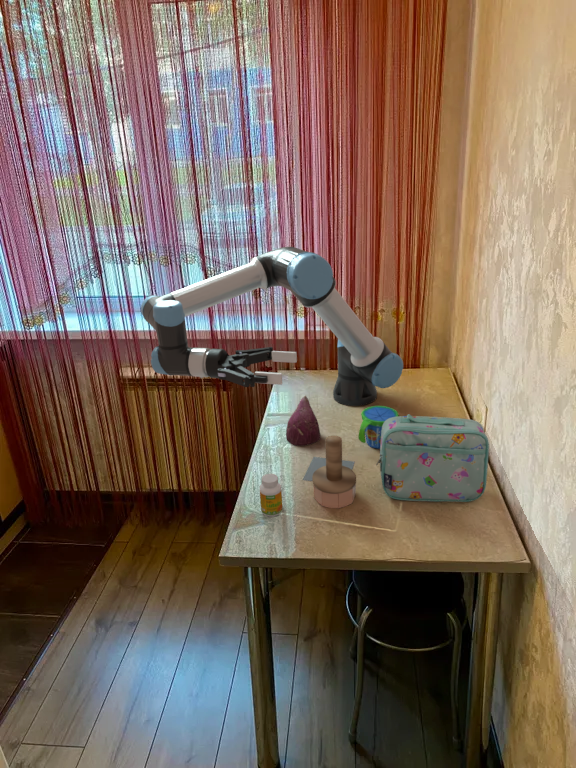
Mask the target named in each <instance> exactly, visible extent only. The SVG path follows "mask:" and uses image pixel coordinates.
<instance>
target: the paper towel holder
mask: <svg viewBox="0 0 576 768" xmlns="http://www.w3.org/2000/svg"><path fill="white" fill-rule="evenodd" d="M325 458H326V466H323V467H321V468H319V469H317V470H316V471H315V472H314V473H313V476H312V480H313V481H312V484H313V487H314V486H315V487H316V488H317V489H318V490H320V491H322V492H325V493H330V494H339V493H344V492H347V491H349V490H351V489H352V488H353V487H354V486H355V484H357V474H356V473H355V471H354V469H352V470H351V469H350V468H348V467H345V466H342V460H343V439H342V437H341V436H339V435H329V436H327V437H326V438H325Z"/></svg>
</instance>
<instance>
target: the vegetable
mask: <svg viewBox="0 0 576 768" xmlns="http://www.w3.org/2000/svg"><path fill="white" fill-rule="evenodd" d="M319 425H320V424H319V422H318V418H317V416H316V415H315V413H314V410H313V408H312V407H311V404H310V400H309V399H308V397H307V395H304V396H303V397H302V398H301V399H300V401H299V402H298V405H297V406H296V408H295V410H294V412H292V414H291V416H290V417H289V418H288V421H287V424H286V430H285V431H286V432H285V433H286V434H285V436H286V437H285V438H286V441H287V442H288V443H289V444H290V445H292V446H296V447H297V446H298V447H299V446H300V447H302V446H303V447H306V446H310V445H313V444H315V443H317V442H318V441H320V439H321V431H320V426H319Z"/></svg>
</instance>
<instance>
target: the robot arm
mask: <svg viewBox="0 0 576 768" xmlns="http://www.w3.org/2000/svg"><path fill="white" fill-rule="evenodd" d="M336 286H337V281H336V279H335V276H334V271H333V269H332V266H331V264H330V263H329V262H328V261H327V259H325V258H324V257H322V255H319V254H318V253H316V252H311V251H306V250H303V249H300V248H298V247H295V246H283V247H279V248H275V249H273V250H271V251H268V252H265V253H262V254H259V255H257V256H254V257H252V258H251V260H250V262H249V263H246V264H244V265H241V266H238V267H235V268H232V269H230V270H227V271H226V272H225V271H224V272H223V273H220V274H217V275H215V276H212V277H209V278H207V279H203V280H202V281H201V280H200V281H199V282H195V283H193V284H191V285H188V286H186V287H184V288H183V287H182V288H180V289H178V290H175V291H172V292H170V293H167V294H164V295H161V296H160V295H149V296H147V297H146V298H145V299H143V301H142V303H141V307H140V311H141V315H142V317H143V319H144V320H145V322H147V324H149V325H150V326H151V327H152V328H153V330H155V333H156V336H157V337H156V338H157V344H158V345H156V346H155V347H154V348H153V350H152V351H151V355H150V357H151V360H150V364H151V367H152V368H151V369H152V370H153V371H154V372H155V373H156V374H159V375H167V376H170V377H171V376H182V377H199V378H200V379H204V378H208V377H209V378H211V379H218V380H223V381H226V382H227V381H228V382H230V383H233V384H235V385H239V386H241V387H245V388H249V387H251V388H254V387H256V384H264V385H265V384H268V385H277V386H278V385H281V386H282V385H283V373H282V372H271V371H268V372H267V371H255V372H252V371H251V370H249V369H247V368H249V367H250V366H251V365H255V364H259V363H263V362H267V361H271V362H277V363H279V362H280V363H294V364H296V363H297V361H298V357H297V355H298V354H297V351H285V350H284V351H282V350H281V351H279V350H274V348H273V346H268V347H260V348H251V349H242V350H241V349H237V350H235V354H228V352H227V350H225V348H209V347H191V346H190V347H189V342H188V341H189V340H188V334H187V326H186V325H187V324H186V317H188V316H190V315H193V314H196V313H198V312H201V311H203V310H206V309H209V308H211V307H213V306H216V305H219V304H221V303H224V302H226V301H229V300H231V299H234V298H237V297H239V296H241V295H244V294H247V293H249V292H252V291H255V290H256V289H262V290H266V289H269V288H271V287H272V288H273V287H282V288H284V289H287V290H288V291H290V292H291V293H292V294H293V295H294V297H296V299H297V300H298V302H300V303H301V305H302V306H303V307H305V308H312V310H313V311H314V312H315V313H316V314H317V316H318V317H319V318H320V319H321V320H322V321H323V323H325V325H326V326H327V328H328V329H329V330H330V331H331V332H332V333H333V335H334V336H335V337H336V338H337V346H336V347H337V378H336V381H335V384H334V387H333V391H332V394H333V395H332V397H333V399H334V401H335V402H337V403H339V404H342V405H345V406H352V407H359V406H366V405H369V404H371V403H373V402H375V401H376V399H377V394H378V393H377V388H378V389H388V388H390V387H391V386H393V385H394V384H396V383H398V381H399V380H400V377H402V376H401V375H402V373H403V369H404V361H403V359H402V357H401V356H399V355H398V354H397V353H395V352H392V351H391V350H390V348H389V347H388V346H387V344H385V342H384V341H383V340H382V339H381V338H380V337H378V336H373V334H372V333H370V331H369V329H368V328H367V327H366V326H365V324H364V323H363V322H362V321H361V319H360V318H359V317H358V316H357V314H356V313H355V312H354V310H353V309H352V308H351V307H350V305H349V304H348V303H347V302H346V300H345V299H344V297H343V296H342V295H341V293H339V291H338V290H337V289H336Z"/></svg>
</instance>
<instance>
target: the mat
mask: <svg viewBox="0 0 576 768" xmlns="http://www.w3.org/2000/svg"><path fill="white" fill-rule="evenodd" d="M355 463H356V461H351V460H346V459H345V460H343V459H342V466H345V467H348V468H350V469H351V470H354V469H353V468H354V465H355ZM323 466H326V457H321V456H313V457H312V460H311V462H310V463H309V465H308V467H307V470H306V472H305V474H304V476H303V477H302V481H306V482H313V480H312V476H313V473H314V472H315V471H316V470H317V469H319V468H321V467H323Z"/></svg>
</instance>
